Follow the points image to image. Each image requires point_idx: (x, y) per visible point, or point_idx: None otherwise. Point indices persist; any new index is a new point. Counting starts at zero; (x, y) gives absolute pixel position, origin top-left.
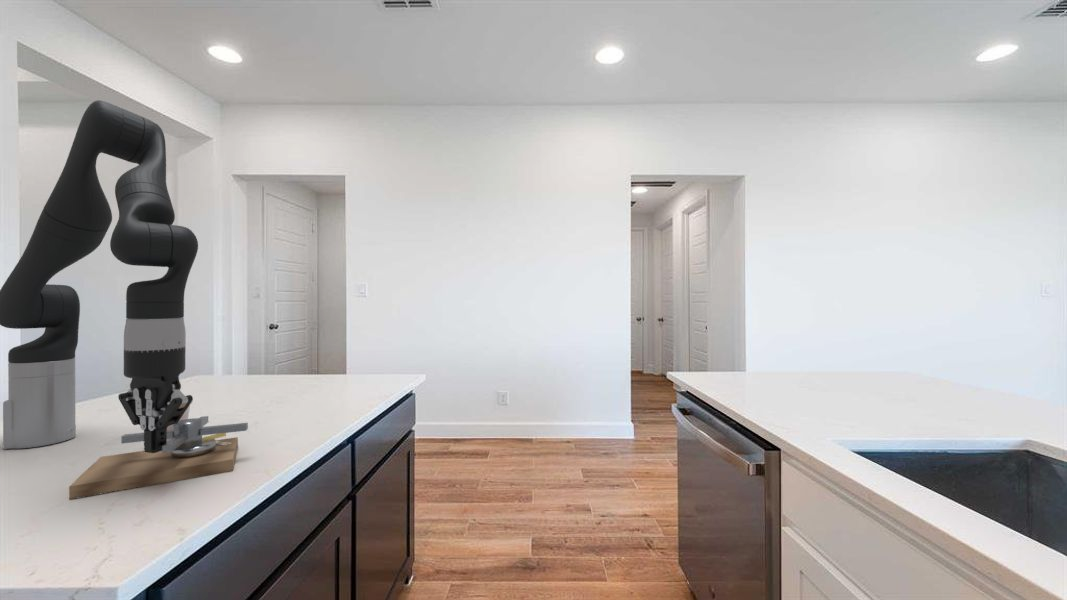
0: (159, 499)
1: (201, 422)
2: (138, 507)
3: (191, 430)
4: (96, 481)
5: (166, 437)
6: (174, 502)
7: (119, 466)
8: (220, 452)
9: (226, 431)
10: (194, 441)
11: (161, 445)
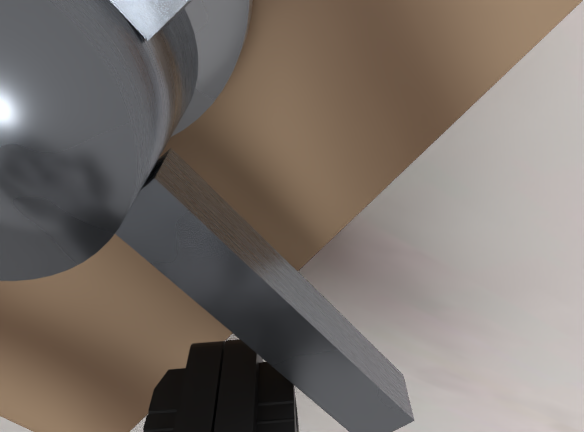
0: (460, 333)
1: (89, 18)
2: (446, 385)
3: (157, 150)
4: (137, 418)
5: (295, 425)
6: (552, 333)
7: None
8: None
9: None
10: (186, 80)
11: (295, 405)
